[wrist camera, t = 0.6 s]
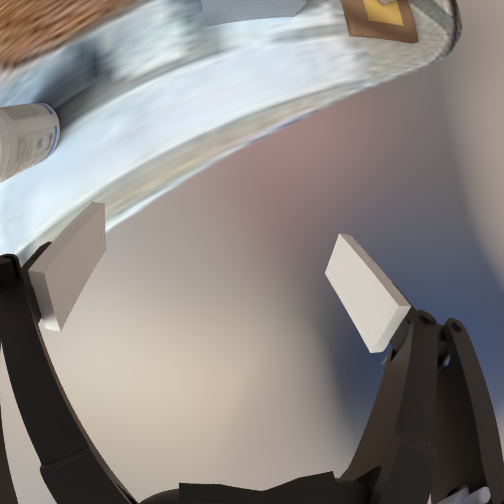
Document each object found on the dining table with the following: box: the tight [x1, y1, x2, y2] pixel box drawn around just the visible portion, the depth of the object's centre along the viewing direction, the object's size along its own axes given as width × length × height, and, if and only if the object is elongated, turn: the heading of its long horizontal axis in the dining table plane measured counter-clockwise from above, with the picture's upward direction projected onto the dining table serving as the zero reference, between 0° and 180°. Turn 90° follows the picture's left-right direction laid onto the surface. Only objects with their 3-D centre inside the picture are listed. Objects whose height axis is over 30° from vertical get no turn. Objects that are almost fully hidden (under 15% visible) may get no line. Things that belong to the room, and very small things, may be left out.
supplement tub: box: [0, 103, 60, 183], centre depth 23 cm, size 10×10×15 cm
